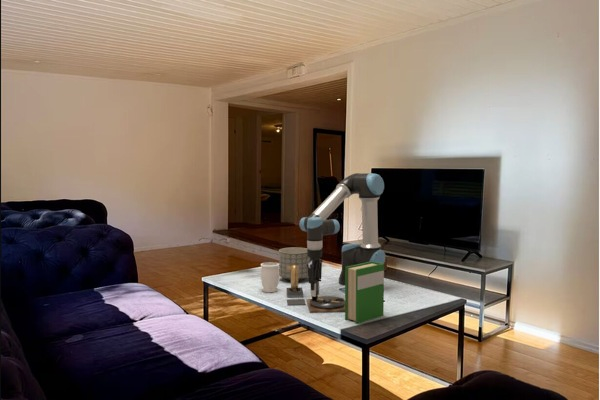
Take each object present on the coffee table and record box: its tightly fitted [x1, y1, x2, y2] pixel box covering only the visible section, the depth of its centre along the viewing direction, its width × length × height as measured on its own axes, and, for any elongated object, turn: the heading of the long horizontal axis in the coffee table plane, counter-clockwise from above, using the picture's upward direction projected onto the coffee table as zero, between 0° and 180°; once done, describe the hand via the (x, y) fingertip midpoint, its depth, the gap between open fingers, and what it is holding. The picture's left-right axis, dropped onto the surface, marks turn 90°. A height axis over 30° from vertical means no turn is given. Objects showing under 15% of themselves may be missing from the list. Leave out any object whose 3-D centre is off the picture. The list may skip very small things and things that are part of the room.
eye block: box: [285, 286, 304, 299], centre depth 238 cm, size 8×8×3 cm
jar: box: [260, 261, 280, 293], centre depth 246 cm, size 11×10×15 cm
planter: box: [278, 247, 310, 282], centre depth 270 cm, size 19×19×18 cm
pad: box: [286, 298, 307, 306], centre depth 225 cm, size 9×9×1 cm
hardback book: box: [344, 261, 385, 325], centre depth 202 cm, size 18×7×24 cm, turn 130°
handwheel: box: [310, 280, 345, 309], centre depth 219 cm, size 17×17×11 cm
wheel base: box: [306, 297, 345, 314], centre depth 219 cm, size 19×19×1 cm
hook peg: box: [287, 265, 299, 291], centre depth 237 cm, size 6×4×16 cm, turn 94°
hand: (314, 295), depth 222 cm, fingers closed on handwheel, 3 cm apart
